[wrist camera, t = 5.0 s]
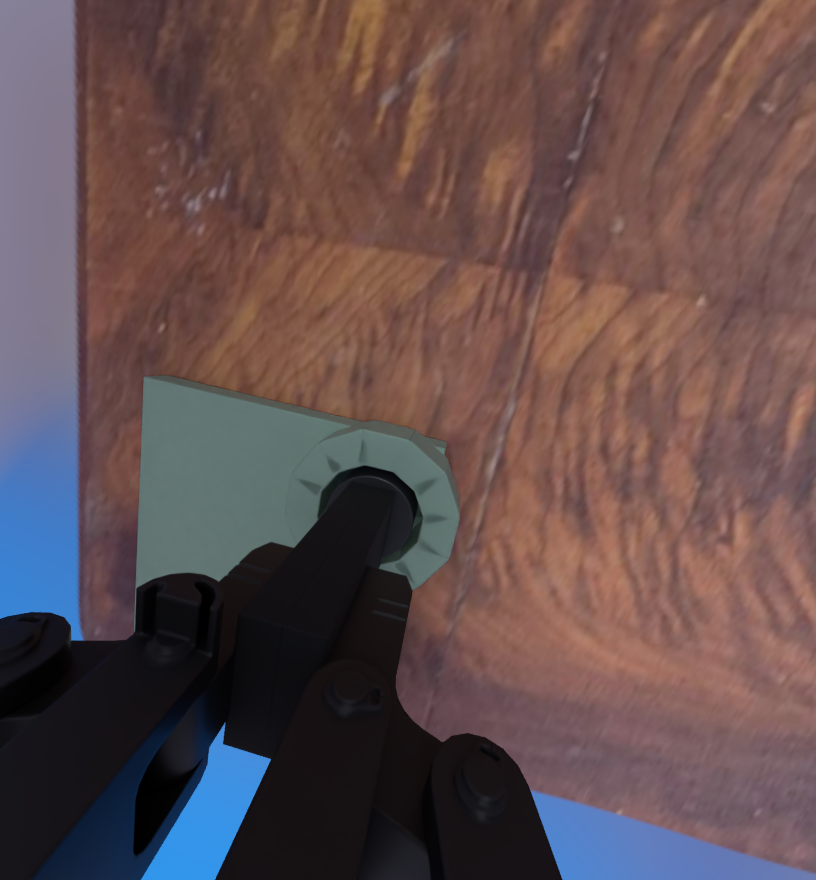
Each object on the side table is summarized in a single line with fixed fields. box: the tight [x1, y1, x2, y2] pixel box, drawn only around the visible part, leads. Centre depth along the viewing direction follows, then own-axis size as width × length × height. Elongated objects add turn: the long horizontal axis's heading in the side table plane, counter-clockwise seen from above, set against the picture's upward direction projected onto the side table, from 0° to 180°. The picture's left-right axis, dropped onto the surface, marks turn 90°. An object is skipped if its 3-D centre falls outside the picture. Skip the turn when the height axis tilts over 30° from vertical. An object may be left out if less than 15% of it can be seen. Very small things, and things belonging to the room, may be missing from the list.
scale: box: [134, 375, 460, 631], centre depth 15 cm, size 12×13×3 cm
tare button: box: [326, 465, 418, 557], centre depth 13 cm, size 3×3×2 cm
